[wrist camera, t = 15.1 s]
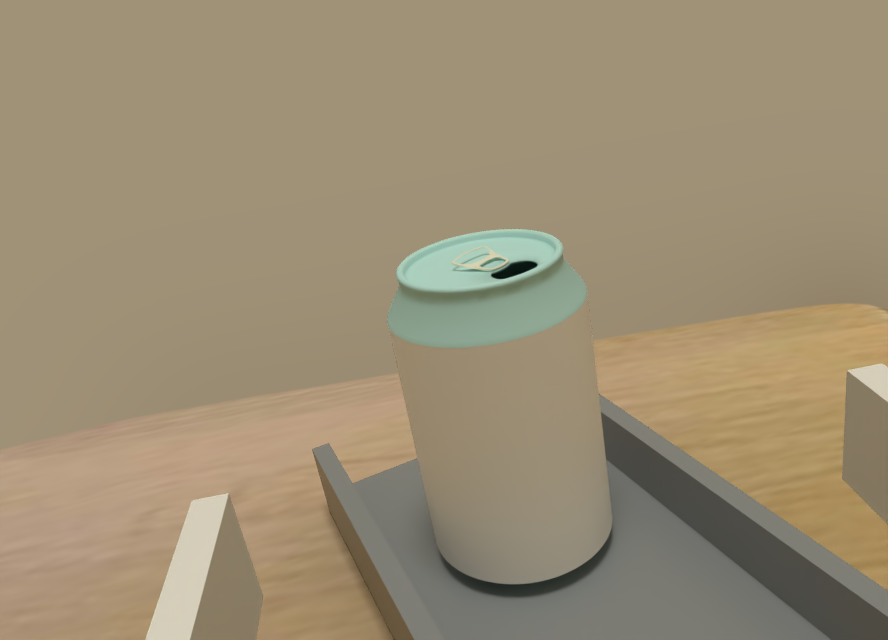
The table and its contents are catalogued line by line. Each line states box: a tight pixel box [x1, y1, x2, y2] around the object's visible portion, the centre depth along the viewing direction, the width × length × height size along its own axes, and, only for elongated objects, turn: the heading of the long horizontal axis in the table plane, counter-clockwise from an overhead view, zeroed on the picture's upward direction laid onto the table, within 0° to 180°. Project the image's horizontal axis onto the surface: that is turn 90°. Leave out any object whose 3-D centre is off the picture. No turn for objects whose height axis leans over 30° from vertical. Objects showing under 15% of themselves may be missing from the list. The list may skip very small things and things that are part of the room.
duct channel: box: [312, 394, 888, 640], centre depth 29 cm, size 13×20×4 cm, turn 23°
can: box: [388, 229, 612, 584], centre depth 29 cm, size 7×7×12 cm
